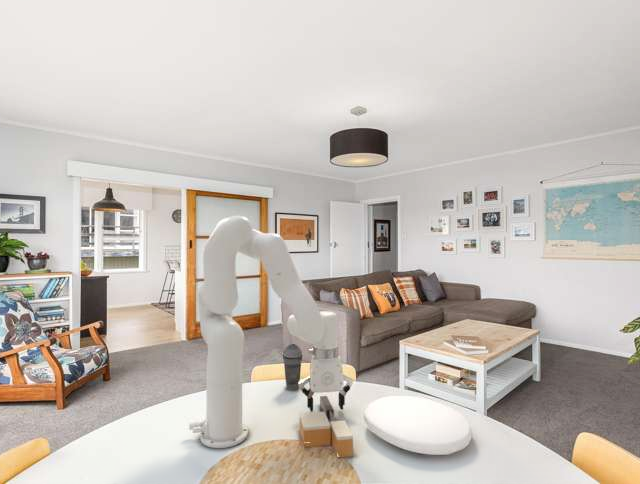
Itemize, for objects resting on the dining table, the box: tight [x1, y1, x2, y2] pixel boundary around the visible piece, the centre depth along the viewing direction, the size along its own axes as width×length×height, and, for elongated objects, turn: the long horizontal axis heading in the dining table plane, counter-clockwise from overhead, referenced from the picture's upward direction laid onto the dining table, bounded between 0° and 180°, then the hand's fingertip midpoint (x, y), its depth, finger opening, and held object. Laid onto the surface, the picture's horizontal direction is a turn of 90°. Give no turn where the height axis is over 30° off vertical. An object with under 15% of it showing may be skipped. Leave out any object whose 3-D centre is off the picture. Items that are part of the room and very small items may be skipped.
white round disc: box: [363, 395, 473, 456], centre depth 101 cm, size 28×6×27 cm
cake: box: [299, 411, 332, 448], centre depth 99 cm, size 7×8×5 cm
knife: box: [319, 395, 336, 423], centre depth 109 cm, size 2×19×3 cm, turn 9°
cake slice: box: [329, 420, 354, 458], centre depth 94 cm, size 4×8×5 cm, turn 9°
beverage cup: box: [282, 331, 304, 391], centre depth 133 cm, size 7×7×20 cm
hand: (326, 408), depth 114 cm, fingers open, 9 cm apart
